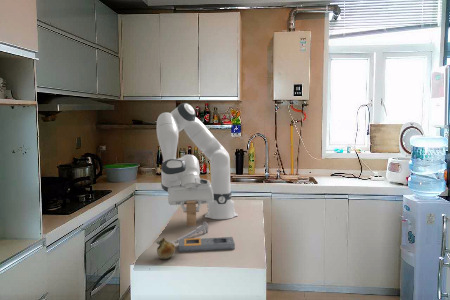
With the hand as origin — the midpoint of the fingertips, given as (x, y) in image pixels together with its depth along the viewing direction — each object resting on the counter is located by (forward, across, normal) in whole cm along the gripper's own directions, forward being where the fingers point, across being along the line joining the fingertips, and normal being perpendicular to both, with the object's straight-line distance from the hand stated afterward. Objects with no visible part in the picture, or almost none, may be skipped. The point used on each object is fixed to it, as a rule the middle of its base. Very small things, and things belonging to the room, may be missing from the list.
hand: (191, 211), depth 164 cm
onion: (+19, -11, +4) cm, 22 cm away
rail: (+11, +6, +12) cm, 17 cm away
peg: (+4, 0, +4) cm, 6 cm away
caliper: (+1, 0, +23) cm, 23 cm away
